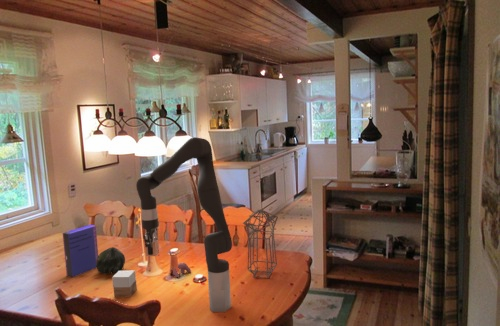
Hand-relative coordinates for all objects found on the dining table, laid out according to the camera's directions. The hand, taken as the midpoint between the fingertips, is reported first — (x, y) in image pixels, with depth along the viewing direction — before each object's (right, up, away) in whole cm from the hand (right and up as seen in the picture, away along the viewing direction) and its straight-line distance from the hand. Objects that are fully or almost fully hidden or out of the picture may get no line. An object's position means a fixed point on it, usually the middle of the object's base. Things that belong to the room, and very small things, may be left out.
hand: (152, 252), depth 195 cm
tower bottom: (-13, -20, +2) cm, 24 cm away
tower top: (-13, -15, +1) cm, 20 cm away
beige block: (0, -1, 0) cm, 1 cm away
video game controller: (+10, -17, +22) cm, 29 cm away
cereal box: (-46, -18, +33) cm, 59 cm away
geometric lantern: (+53, -16, +16) cm, 57 cm away
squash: (-29, -17, +30) cm, 45 cm away
